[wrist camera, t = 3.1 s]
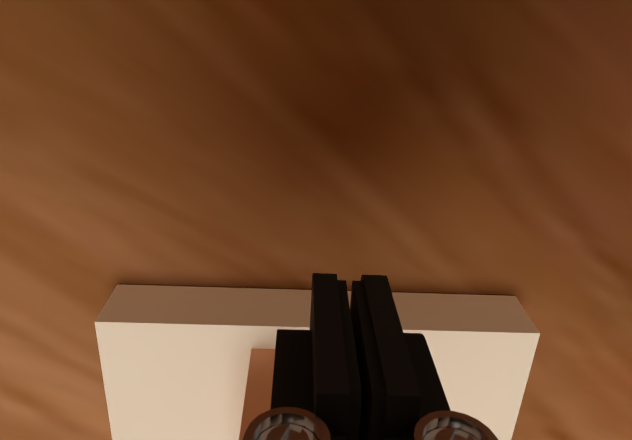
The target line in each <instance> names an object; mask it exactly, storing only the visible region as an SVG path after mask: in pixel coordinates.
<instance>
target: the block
mask: <svg viewBox="0 0 632 440" xmlns="http://www.w3.org/2000/svg"><path fill="white" fill-rule="evenodd" d="M274 359H275V349H252V348H251V354H250V362H249V369H248V376H247V383H246V391H245V398H244V405H243V413H242V420H241V427H240V435H239V440H243V437H244V434H245V431H246V430H247V428H248V426H249V424H250V423H251V422H252V421H253V420H254V419H255V418H256V417H257V416H258V415H260V414H262V413H264V412H266V411H268V410H270V407H271V395H272V383H273V371H274Z"/></svg>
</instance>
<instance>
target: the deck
mask: <svg viewBox="0 0 632 440" xmlns="http://www.w3.org/2000/svg"><path fill="white" fill-rule="evenodd" d="M311 291H312V290H295V289H260V288H225V287H190V286H156V285H121V284H117V285H116V287H115V289H114V290H113V292H112V294H111V295H110V297H109V299H108V300H107V302H106V304H105V305H104V307H103V309H102V310H101V312H100V314H99V315H98V317H97V319H96V320H95V327H96V334H97V340H98V347H99V354H100V360H101V367H102V374H103V380H104V387H105V394H106V400H107V407H108V414H109V420H110V427H111V433H112V440H239V435H240V427H241V420H242V413H243V405H244V398H245V391H246V383H247V376H248V369H249V362H250V354H251V348H252V349H275V346H276V334H277V329H289V330H310V311H311ZM347 292H348V299H349V306H350V302H351V291H347ZM392 295H393V299H394V302H395V306H396V309H397V312H398V316H399V319H400V323H401V326H402V330H403V333H422V334H423V335H424V337H425V339H426V342H427V344H428V347H429V350H430V353H431V356H432V359H433V362H434V364H435V367H436V370H437V373H438V376H439V379H440V382H441V384H442V387H443V390H444V393H445V396H446V399H447V401H448V404H449V407H450V410H451V411H456V412H460V413H464V414H467V415H469V416H471V417H473V418H476V419H478V420H479V421H481V422H482V423H483V424H485V425H486V426H487V427H489V429H490V430H491V431H492V432H493V433H494V435H495V436H496V437H497V438H498V440H511V438H512V435H513V431H514V427H515V424H516V420H517V416H518V413H519V409H520V405H521V401H522V398H523V394H524V390H525V387H526V383H527V379H528V376H529V372H530V368H531V365H532V361H533V357H534V354H535V350H536V346H537V343H538V339H539V335H540V333H539V331H538V330H537V328H536V326H535V325H534V323H533V322H532V320H531V319H530V317H529V316H528V314H527V313H526V311H525V310H524V308H523V307H522V305H521V304H520V302H519V301H518V299H517V298H516V296H503V295H468V294H434V293H399V292H392Z"/></svg>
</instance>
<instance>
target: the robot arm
mask: <svg viewBox="0 0 632 440" xmlns="http://www.w3.org/2000/svg"><path fill="white" fill-rule="evenodd" d="M243 440H498V438H497V437H496V436H495V435H494V433H493V432H492V431H491V430H490V429H489V427H487V426H486V425H485V424H483V423H482V422H481V421H479V420H478V419H476V418H473V417H471V416H469V415H467V414H464V413H460V412H456V411H451V410H450V407H449V404H448V401H447V399H446V396H445V393H444V390H443V387H442V384H441V382H440V379H439V376H438V373H437V370H436V367H435V364H434V362H433V359H432V356H431V353H430V350H429V347H428V344H427V342H426V339H425V337H424V335H423V334H422V333H403V330H402V326H401V323H400V319H399V316H398V312H397V309H396V306H395V302H394V299H393V295H392V292H391V289H390V285H389V282H388V278H387V276H382V275H362V277H361V281H353V282H352V290H351V302H350V306H349V299H348V292H347V285H346V281H342V280H337V274H320V273H313V275H312V291H311V311H310V330H289V329H277V334H276V346H275V359H274V371H273V383H272V395H271V407H270V410H268V411H266V412H264V413H262V414H260V415H258V416H257V417H256V418H255V419H254V420H253V421H252V422H251V423H250V424H249V426H248V428H247V430H246V431H245V434H244V437H243Z"/></svg>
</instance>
